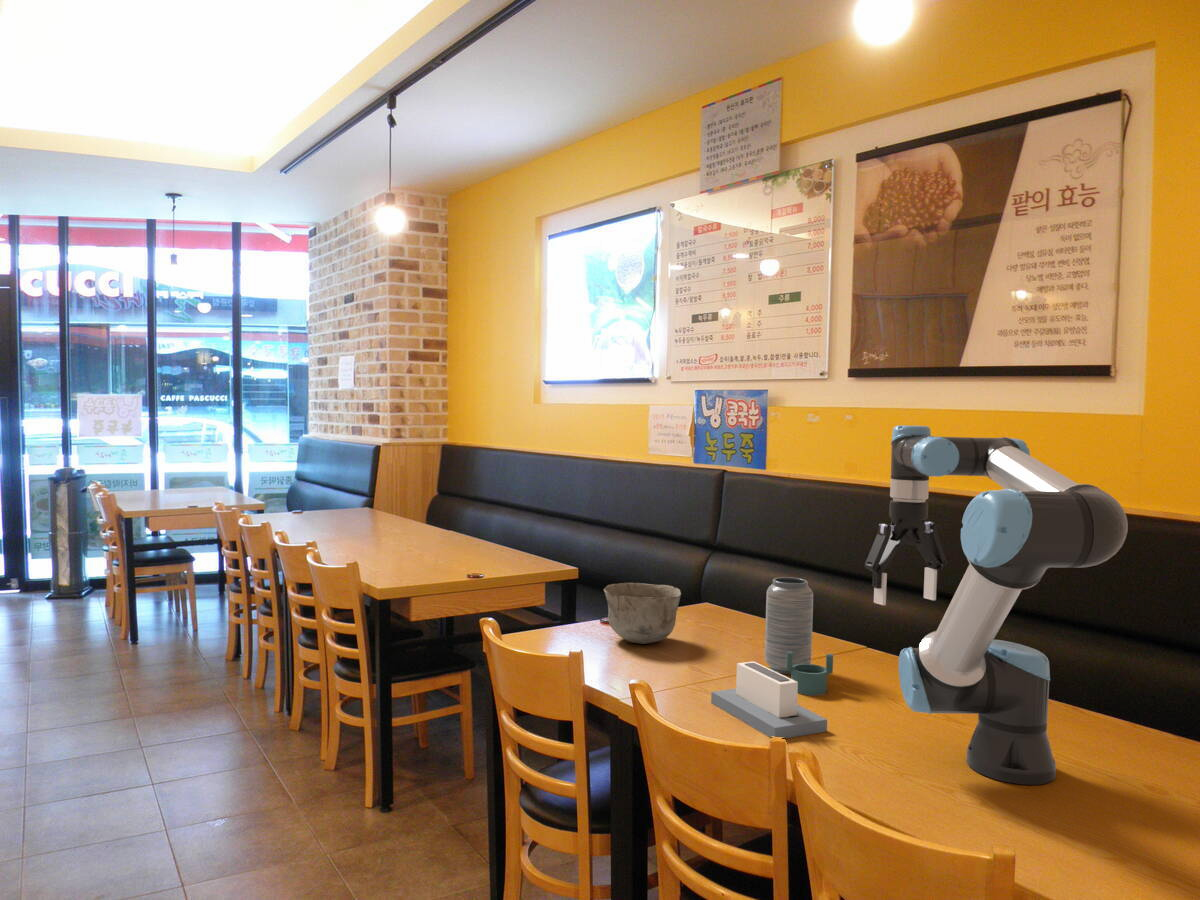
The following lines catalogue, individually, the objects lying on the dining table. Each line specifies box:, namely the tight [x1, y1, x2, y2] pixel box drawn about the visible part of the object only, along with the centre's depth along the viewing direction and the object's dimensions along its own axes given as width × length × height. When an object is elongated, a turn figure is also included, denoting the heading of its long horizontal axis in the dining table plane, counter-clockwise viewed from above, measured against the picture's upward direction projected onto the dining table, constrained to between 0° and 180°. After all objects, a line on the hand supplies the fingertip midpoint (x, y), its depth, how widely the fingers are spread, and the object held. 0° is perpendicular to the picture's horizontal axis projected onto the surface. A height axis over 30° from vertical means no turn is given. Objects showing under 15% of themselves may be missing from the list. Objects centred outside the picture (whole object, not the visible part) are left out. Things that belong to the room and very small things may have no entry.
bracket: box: [786, 651, 834, 697], centre depth 209 cm, size 9×9×9 cm
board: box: [710, 688, 828, 739], centre depth 189 cm, size 24×13×2 cm, turn 24°
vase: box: [764, 576, 814, 675], centre depth 224 cm, size 12×12×23 cm
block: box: [735, 660, 799, 719], centre depth 190 cm, size 16×4×9 cm, turn 24°
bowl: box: [603, 582, 682, 645], centre depth 248 cm, size 22×22×15 cm
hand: (905, 601), depth 183 cm, fingers open, 13 cm apart
